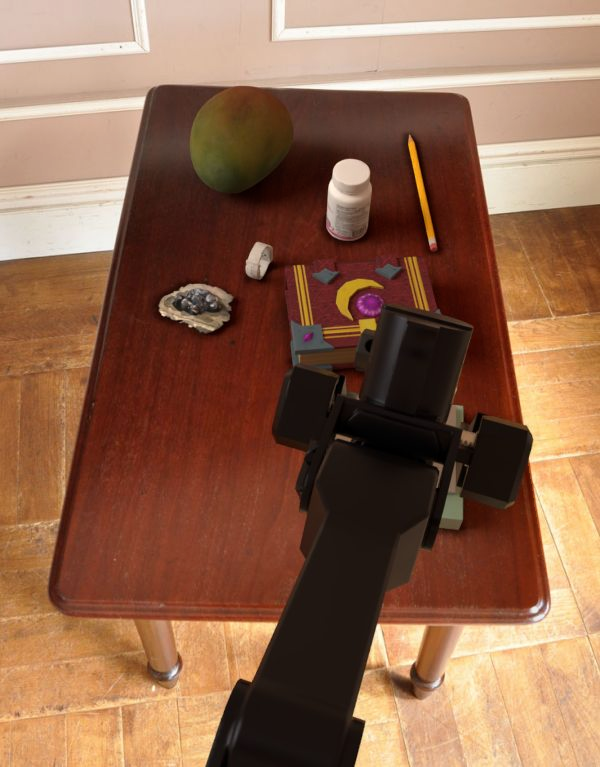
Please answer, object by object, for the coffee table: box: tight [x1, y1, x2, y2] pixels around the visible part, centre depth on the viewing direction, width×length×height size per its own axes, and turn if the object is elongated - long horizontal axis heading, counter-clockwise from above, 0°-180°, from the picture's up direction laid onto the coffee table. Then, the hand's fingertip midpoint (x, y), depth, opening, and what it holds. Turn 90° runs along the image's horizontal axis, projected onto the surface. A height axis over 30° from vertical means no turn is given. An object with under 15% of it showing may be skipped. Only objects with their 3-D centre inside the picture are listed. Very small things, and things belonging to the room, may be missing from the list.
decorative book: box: [284, 253, 443, 372], centre depth 88 cm, size 11×16×5 cm
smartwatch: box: [245, 241, 274, 281], centre depth 92 cm, size 4×2×4 cm, turn 158°
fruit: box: [189, 85, 295, 195], centre depth 98 cm, size 12×13×10 cm
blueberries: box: [157, 283, 235, 334], centre depth 90 cm, size 7×8×2 cm
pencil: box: [407, 134, 438, 252], centre depth 101 cm, size 1×19×1 cm, turn 4°
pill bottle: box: [325, 158, 373, 242], centre depth 94 cm, size 5×5×8 cm
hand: (407, 413), depth 72 cm, fingers open, 9 cm apart
